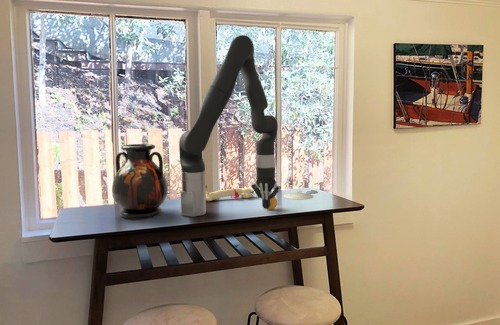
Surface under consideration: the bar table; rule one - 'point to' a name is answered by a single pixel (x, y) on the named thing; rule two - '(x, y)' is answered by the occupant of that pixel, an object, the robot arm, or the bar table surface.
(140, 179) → the amphora vase
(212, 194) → the cat figure
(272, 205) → the ball
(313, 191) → the disc
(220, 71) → the robot arm
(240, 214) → the bar table surface
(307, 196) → the disc
